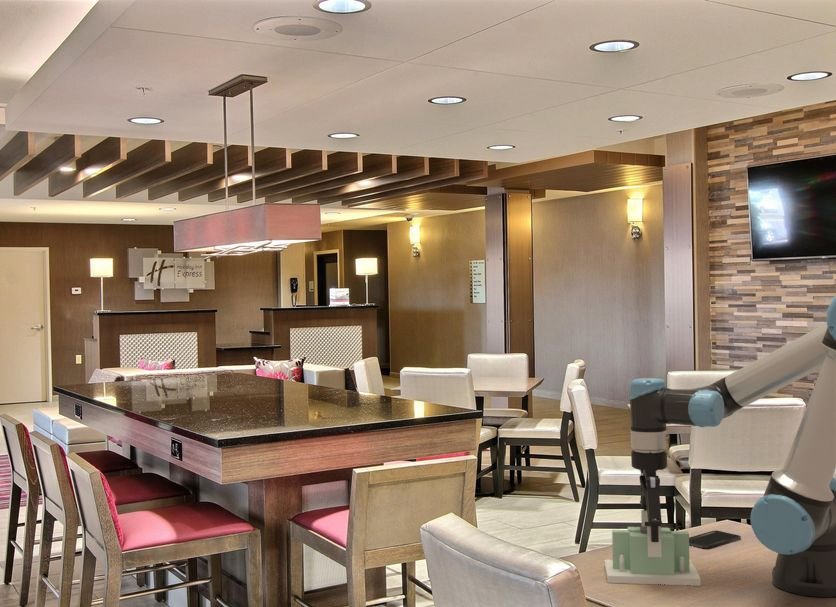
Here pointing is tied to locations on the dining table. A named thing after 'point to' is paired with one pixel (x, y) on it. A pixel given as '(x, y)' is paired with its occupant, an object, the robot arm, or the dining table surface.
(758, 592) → the dining table surface
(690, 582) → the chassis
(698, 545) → the phone
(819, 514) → the robot arm
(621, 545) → the green stepped block
